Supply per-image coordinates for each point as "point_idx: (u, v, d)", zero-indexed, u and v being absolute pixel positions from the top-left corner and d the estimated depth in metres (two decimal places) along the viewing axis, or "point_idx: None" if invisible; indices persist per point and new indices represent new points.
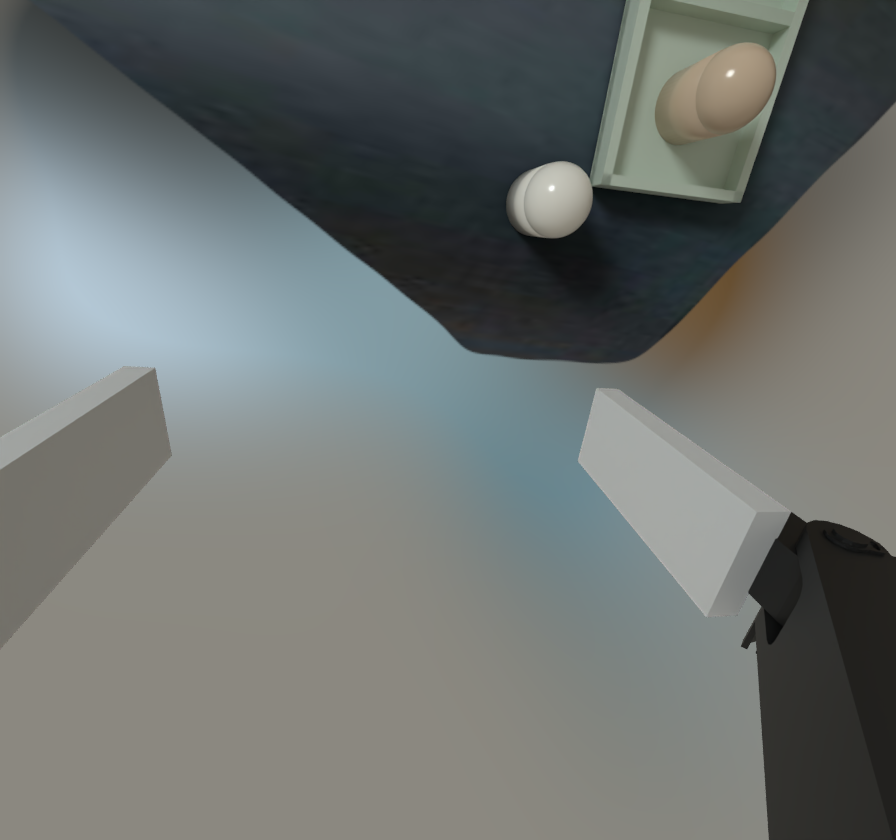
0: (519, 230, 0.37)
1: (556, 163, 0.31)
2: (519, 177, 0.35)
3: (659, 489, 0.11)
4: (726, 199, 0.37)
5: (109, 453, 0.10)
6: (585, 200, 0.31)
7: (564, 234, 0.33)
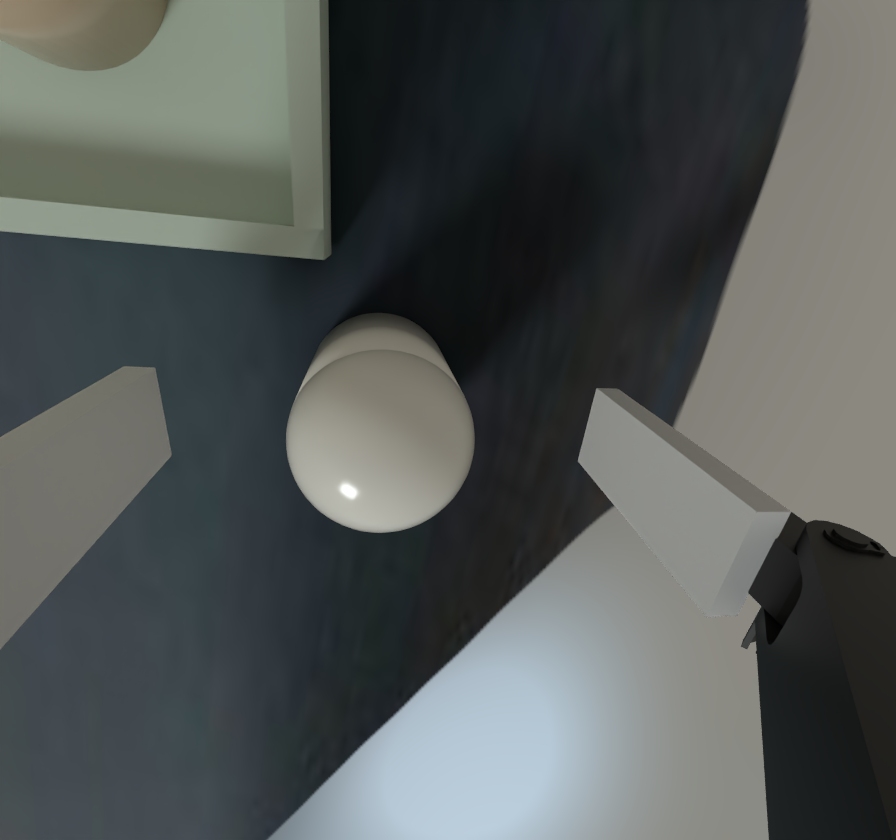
0: None
1: (295, 479, 0.11)
2: None
3: (659, 489, 0.11)
4: None
5: (109, 453, 0.10)
6: (383, 432, 0.10)
7: (470, 435, 0.11)
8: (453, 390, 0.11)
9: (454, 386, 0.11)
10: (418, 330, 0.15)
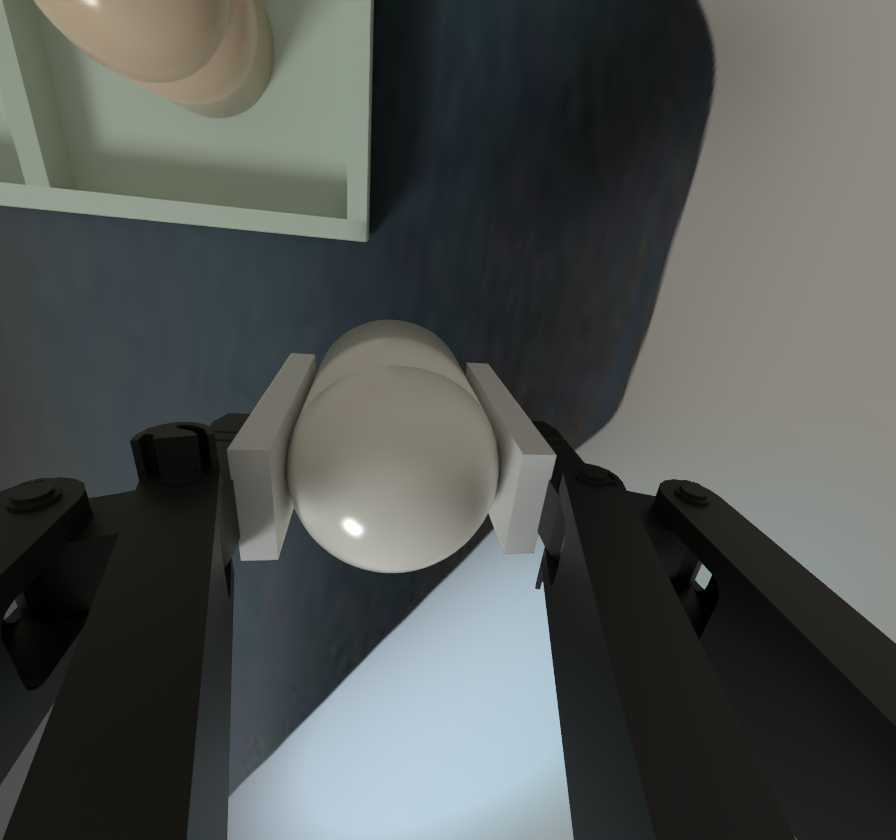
0: None
1: None
2: None
3: None
4: None
5: None
6: (398, 465, 0.08)
7: (495, 464, 0.10)
8: (477, 412, 0.10)
9: (477, 407, 0.10)
10: (434, 339, 0.14)
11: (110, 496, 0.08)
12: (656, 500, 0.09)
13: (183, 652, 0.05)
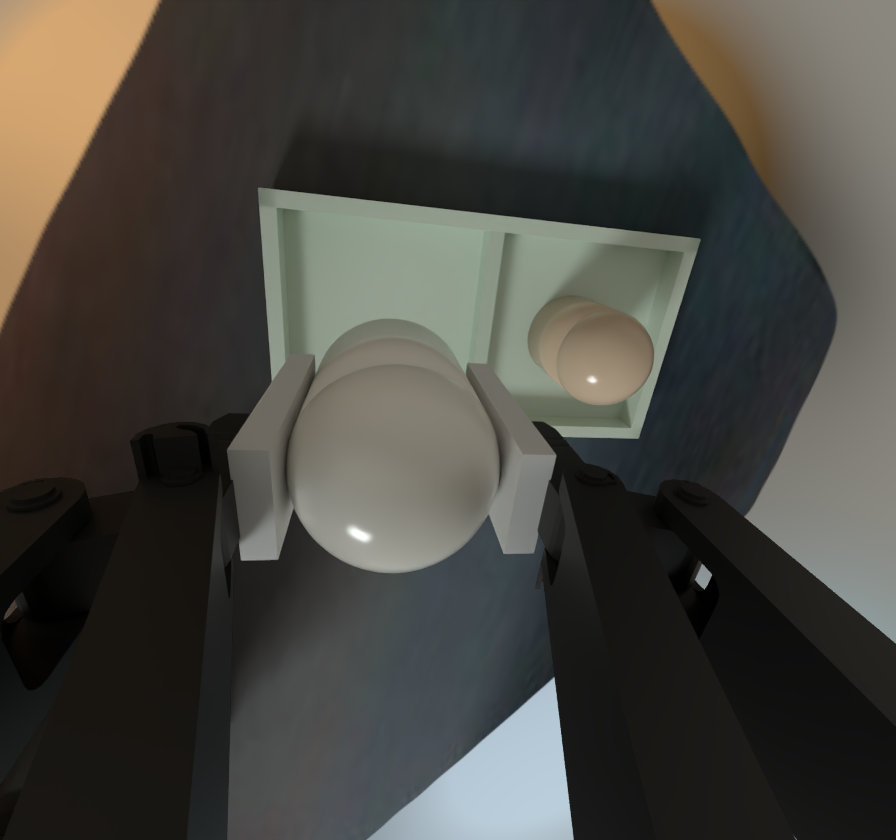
0: None
1: None
2: None
3: None
4: (691, 264, 0.26)
5: None
6: (398, 464, 0.08)
7: (496, 463, 0.10)
8: (477, 411, 0.10)
9: (478, 406, 0.10)
10: (434, 338, 0.13)
11: (109, 495, 0.08)
12: (656, 500, 0.09)
13: (183, 652, 0.05)
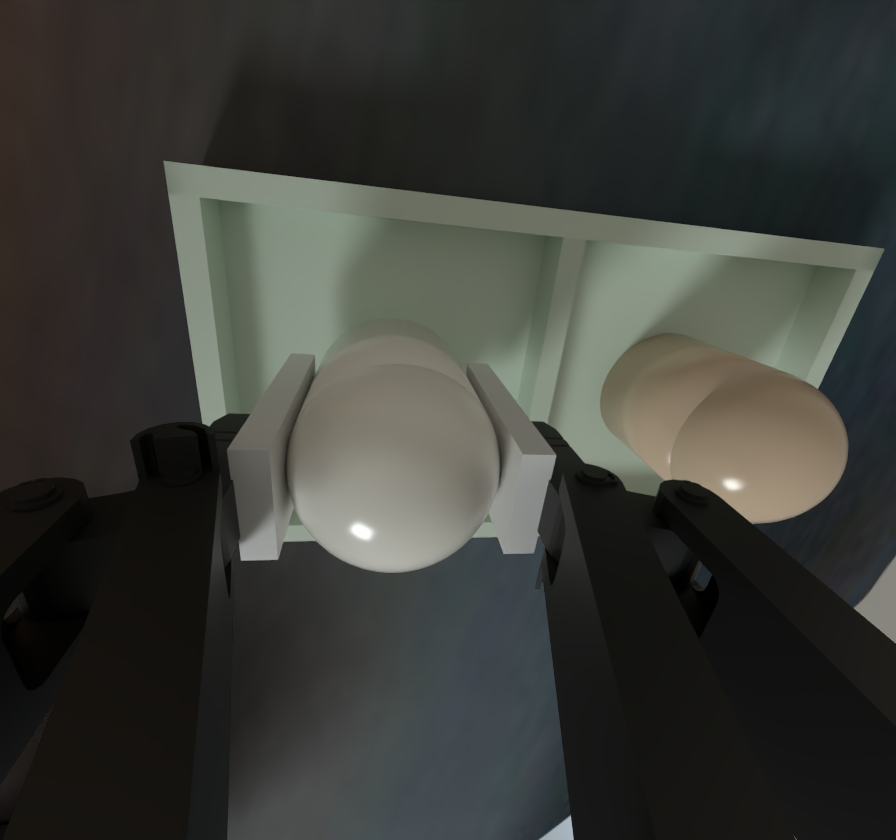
0: None
1: None
2: None
3: None
4: (863, 288, 0.16)
5: None
6: (398, 463, 0.08)
7: (496, 462, 0.10)
8: (478, 411, 0.10)
9: (478, 406, 0.10)
10: (434, 338, 0.13)
11: (110, 496, 0.08)
12: (656, 500, 0.09)
13: (183, 652, 0.05)
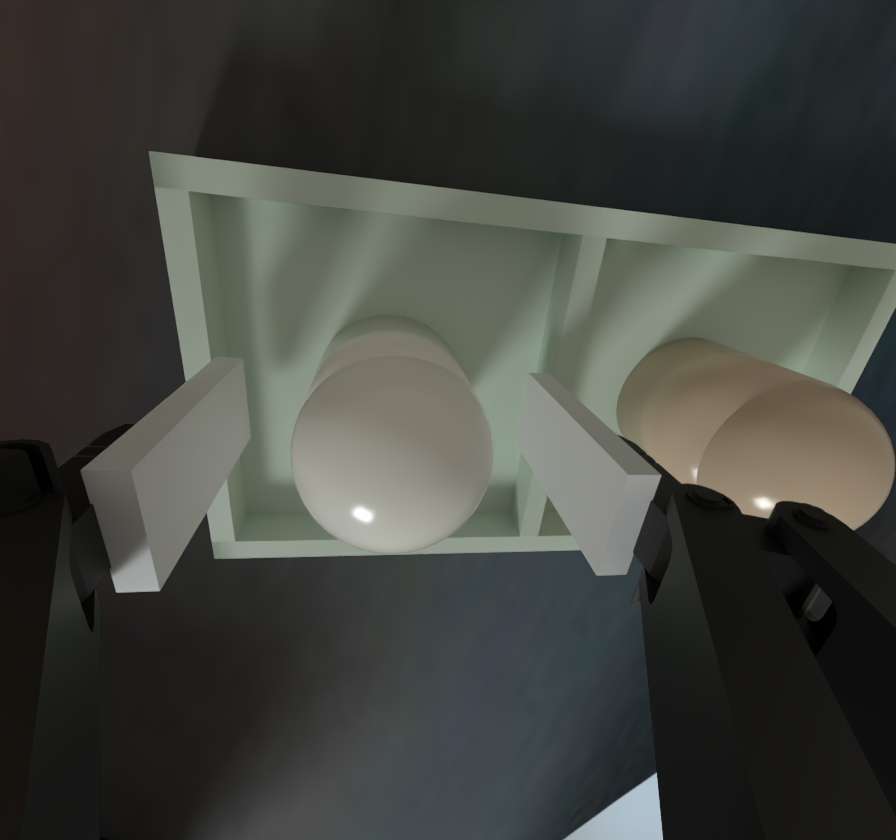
0: None
1: None
2: None
3: (568, 462, 0.11)
4: None
5: (218, 431, 0.11)
6: (397, 448, 0.09)
7: (490, 449, 0.10)
8: (472, 400, 0.10)
9: (473, 396, 0.10)
10: (431, 333, 0.14)
11: None
12: (770, 519, 0.08)
13: (12, 701, 0.04)
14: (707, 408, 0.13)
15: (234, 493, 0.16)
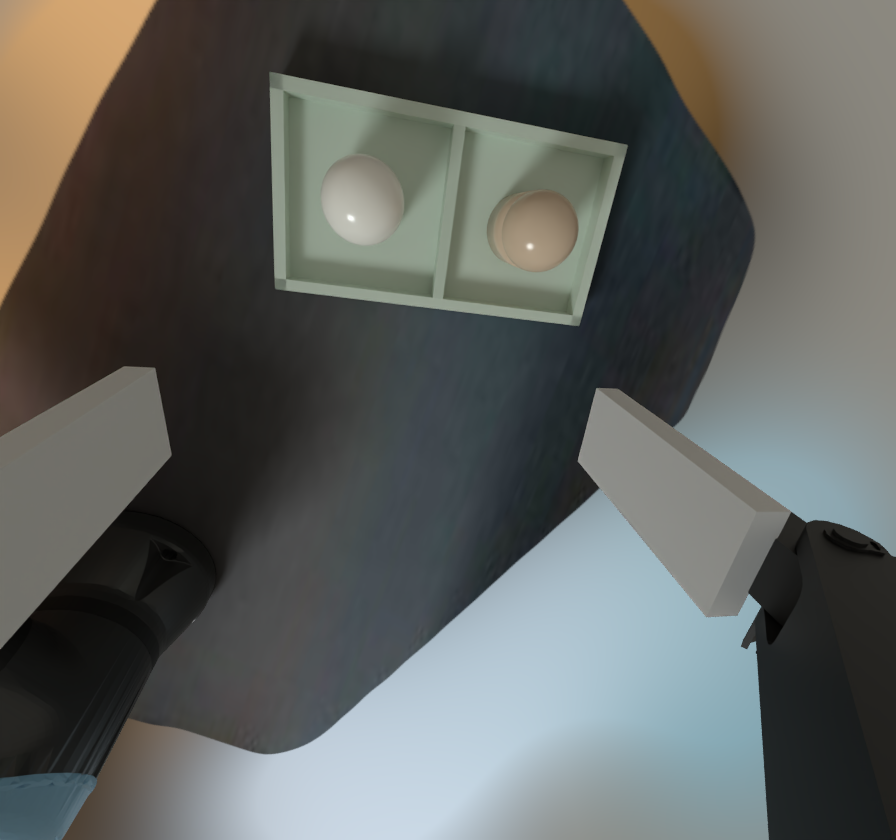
0: None
1: (323, 211, 0.26)
2: None
3: (659, 489, 0.11)
4: (620, 167, 0.31)
5: (109, 453, 0.10)
6: (360, 174, 0.25)
7: (399, 193, 0.26)
8: (392, 172, 0.26)
9: (393, 172, 0.26)
10: None
11: None
12: None
13: None
14: (508, 206, 0.29)
15: (287, 253, 0.31)
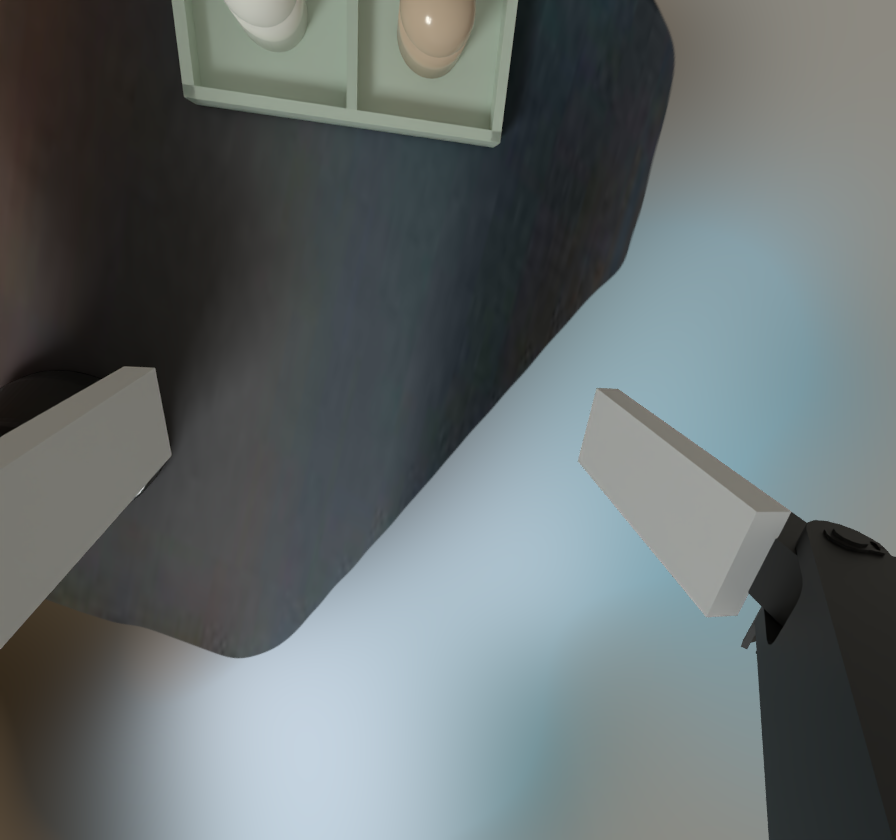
0: (303, 29, 0.32)
1: None
2: (248, 35, 0.31)
3: (659, 489, 0.11)
4: None
5: (109, 453, 0.10)
6: None
7: None
8: None
9: None
10: None
11: None
12: None
13: None
14: None
15: (193, 58, 0.31)
